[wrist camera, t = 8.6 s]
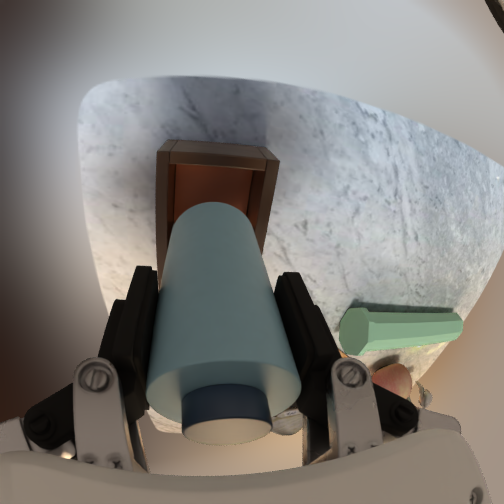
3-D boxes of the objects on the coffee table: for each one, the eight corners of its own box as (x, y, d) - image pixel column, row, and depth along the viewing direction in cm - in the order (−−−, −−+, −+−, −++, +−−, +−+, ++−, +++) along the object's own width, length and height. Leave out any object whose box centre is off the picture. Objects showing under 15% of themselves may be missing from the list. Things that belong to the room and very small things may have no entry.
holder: (166, 289, 25) (161, 322, 22) (167, 139, 18) (156, 150, 14) (242, 292, 27) (248, 325, 23) (266, 147, 20) (280, 160, 16)
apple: (358, 371, 40) (374, 409, 34) (396, 347, 39) (417, 384, 32) (368, 383, 44) (383, 417, 38) (402, 363, 43) (420, 395, 36)
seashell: (317, 407, 46) (323, 428, 42) (282, 422, 48) (287, 443, 44) (285, 393, 40) (292, 419, 36) (246, 410, 42) (250, 435, 38)
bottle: (171, 198, 13) (125, 394, 4) (260, 204, 14) (336, 388, 5) (171, 272, 15) (156, 452, 7) (248, 275, 16) (287, 447, 7)
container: (472, 334, 32) (374, 347, 25) (447, 347, 36) (342, 362, 29) (463, 303, 35) (363, 297, 28) (440, 318, 40) (335, 318, 33)
